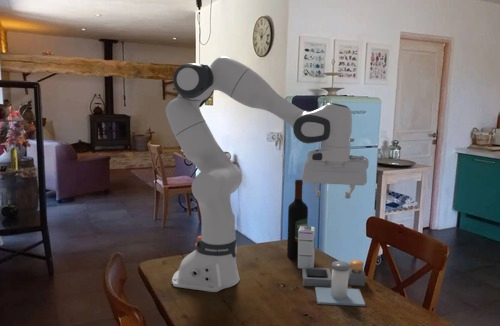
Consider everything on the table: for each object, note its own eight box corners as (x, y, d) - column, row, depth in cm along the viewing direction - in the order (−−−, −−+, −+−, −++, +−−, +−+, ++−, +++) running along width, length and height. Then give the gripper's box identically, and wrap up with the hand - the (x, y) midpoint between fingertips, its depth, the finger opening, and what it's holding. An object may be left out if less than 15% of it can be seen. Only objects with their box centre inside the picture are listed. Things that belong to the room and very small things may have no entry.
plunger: (350, 283, 138) (351, 264, 137) (348, 277, 142) (349, 259, 141) (363, 283, 137) (364, 265, 136) (361, 278, 142) (362, 259, 141)
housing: (303, 285, 137) (303, 274, 136) (302, 274, 146) (302, 263, 145) (366, 288, 135) (366, 277, 134) (360, 276, 144) (361, 265, 144)
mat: (317, 303, 125) (317, 301, 125) (315, 288, 135) (315, 287, 134) (365, 306, 124) (365, 304, 124) (359, 290, 133) (359, 289, 133)
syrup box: (313, 269, 150) (314, 230, 147) (297, 268, 151) (298, 229, 149) (314, 263, 155) (315, 226, 153) (298, 262, 156) (299, 225, 154)
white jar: (331, 298, 127) (333, 267, 125) (328, 290, 132) (330, 260, 130) (349, 299, 126) (351, 268, 125) (346, 291, 132) (348, 261, 130)
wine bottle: (296, 250, 168) (298, 177, 164) (310, 256, 163) (313, 180, 158) (283, 254, 164) (284, 179, 159) (296, 260, 158) (299, 183, 153)
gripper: (367, 154, 134) (364, 196, 136) (303, 152, 136) (301, 193, 138) (370, 157, 128) (367, 201, 130) (303, 154, 130) (301, 197, 132)
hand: (332, 197), depth 134 cm, fingers open, 8 cm apart
